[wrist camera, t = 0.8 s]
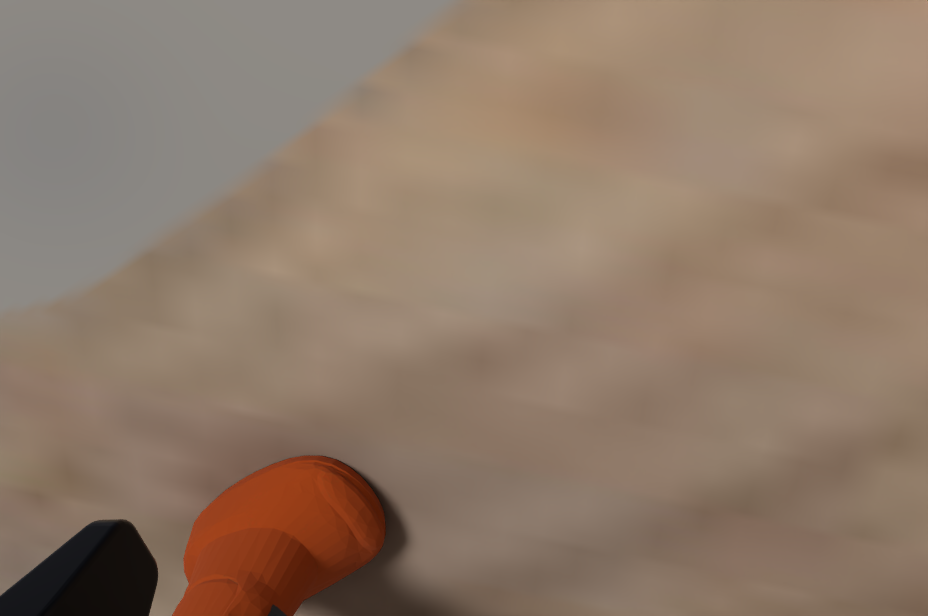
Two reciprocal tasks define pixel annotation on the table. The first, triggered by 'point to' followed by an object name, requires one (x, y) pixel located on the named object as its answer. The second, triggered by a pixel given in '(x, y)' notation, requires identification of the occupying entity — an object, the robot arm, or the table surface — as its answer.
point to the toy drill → (280, 539)
